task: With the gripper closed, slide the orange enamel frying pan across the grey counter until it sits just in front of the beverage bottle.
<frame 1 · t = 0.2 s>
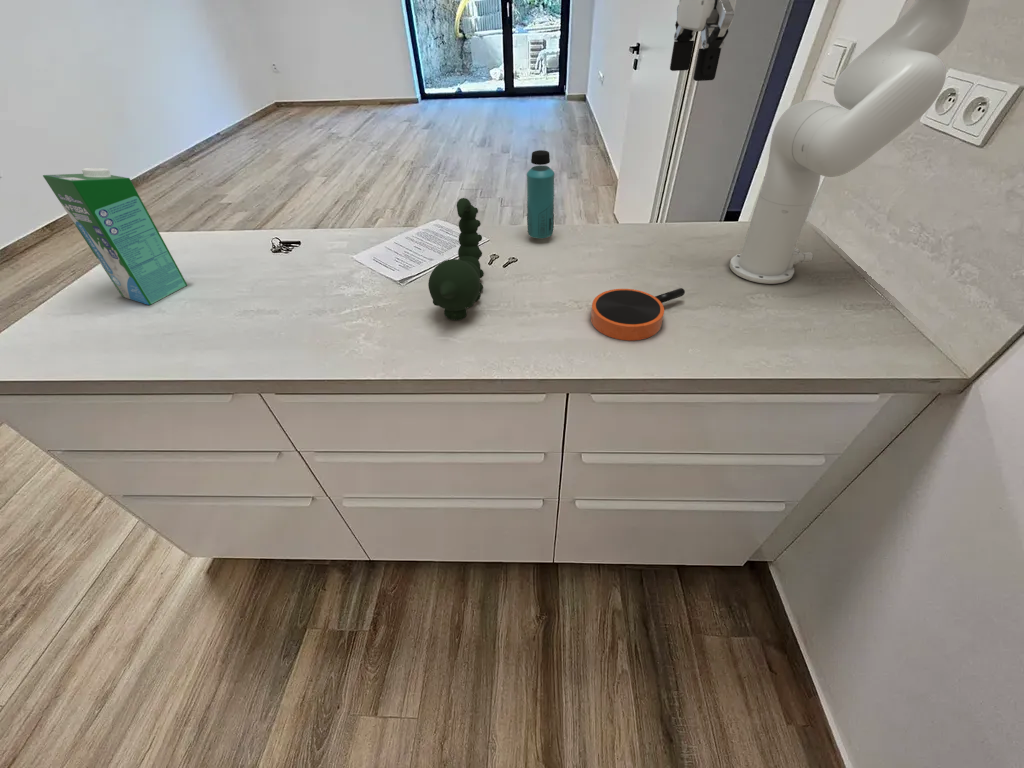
hand: (690, 75, 76), 37 cm above the worktop, tool pointing down, fingers open, 9 cm apart
beverage bottle: (540, 239, 117), on the worktop
milk carton: (156, 291, 102), on the worktop
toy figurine: (463, 301, 96), on the worktop
pan: (625, 320, 89), on the worktop
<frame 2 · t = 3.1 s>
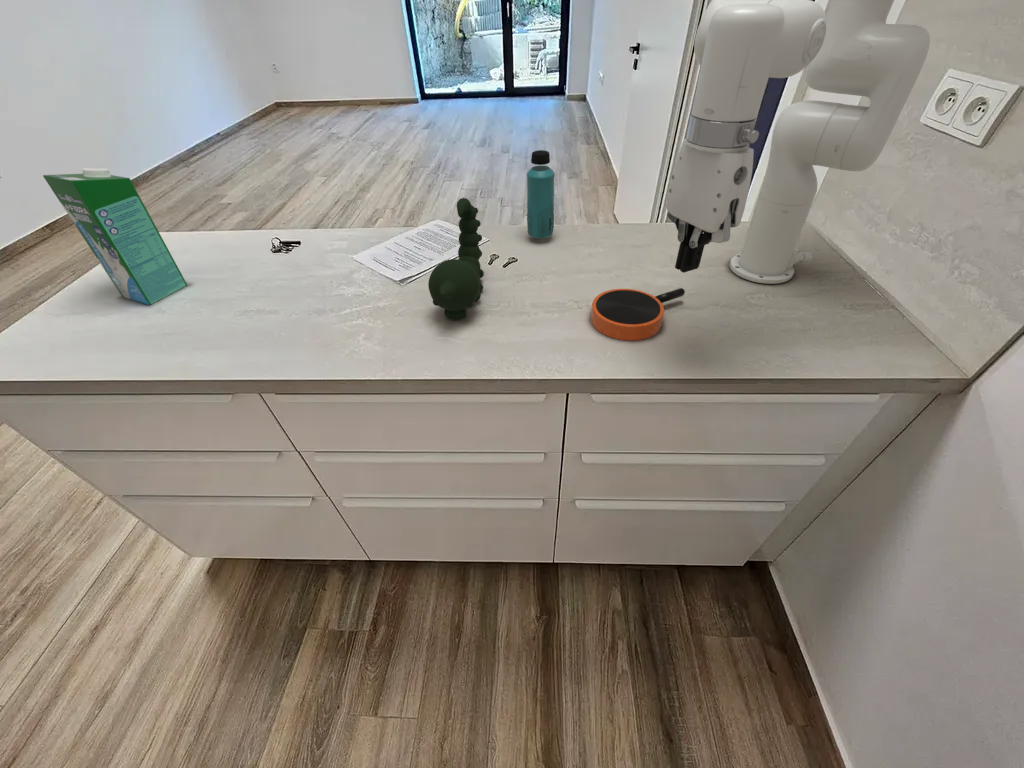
hand: (686, 268, 70), 16 cm above the worktop, tool pointing down, fingers closed
nothing on the worktop moved.
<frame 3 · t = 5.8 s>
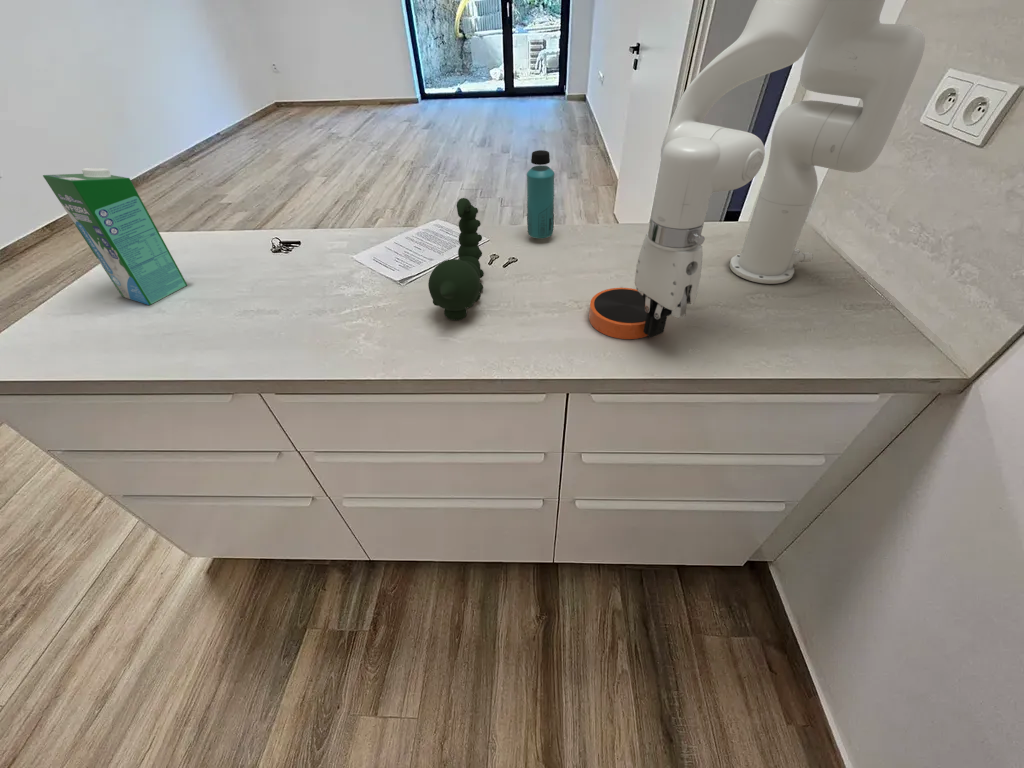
hand: (653, 332, 82), 2 cm above the worktop, tool pointing down, fingers closed
pan: (623, 319, 89), on the worktop, touching gripper
everything else where it was.
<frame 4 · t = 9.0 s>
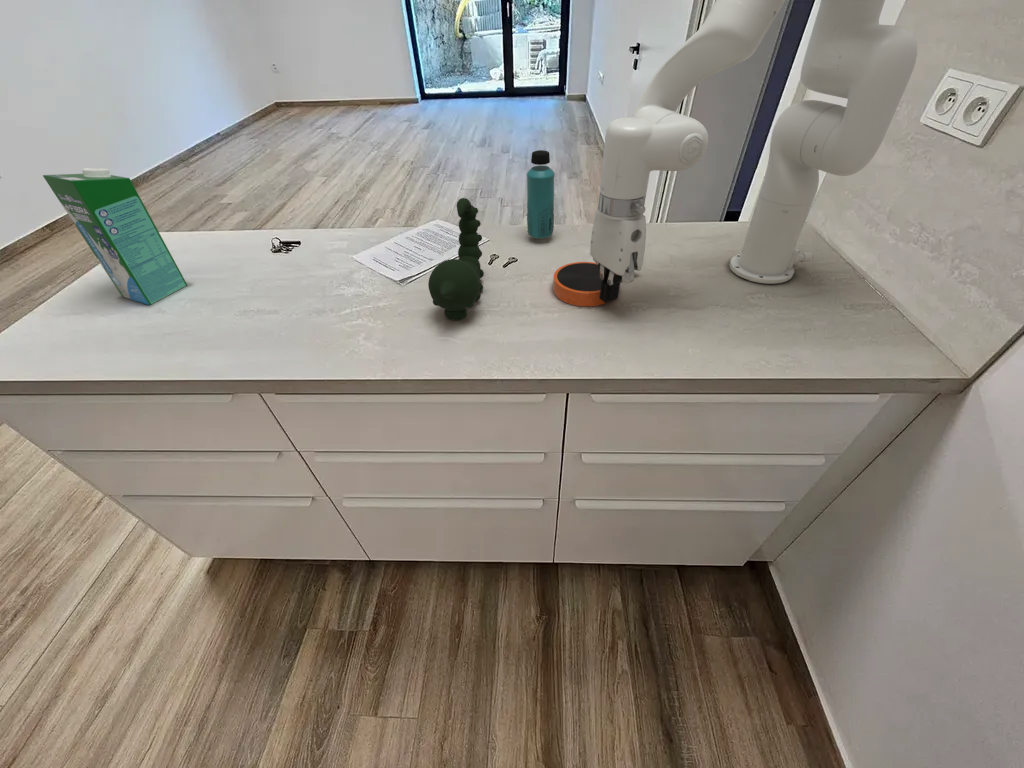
hand: (608, 299, 91), 2 cm above the worktop, tool pointing down, fingers closed
pan: (584, 289, 98), on the worktop, touching gripper
everything else where it was.
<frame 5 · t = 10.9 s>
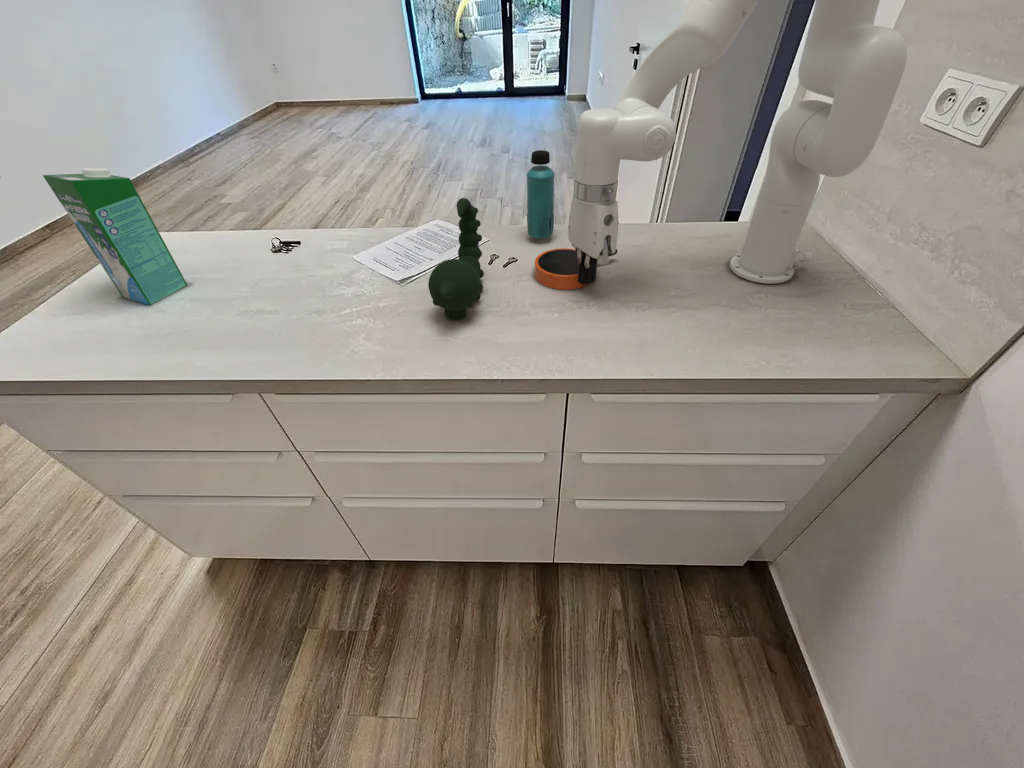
hand: (586, 281, 96), 2 cm above the worktop, tool pointing down, fingers closed
pan: (564, 274, 103), on the worktop, touching gripper
everything else where it was.
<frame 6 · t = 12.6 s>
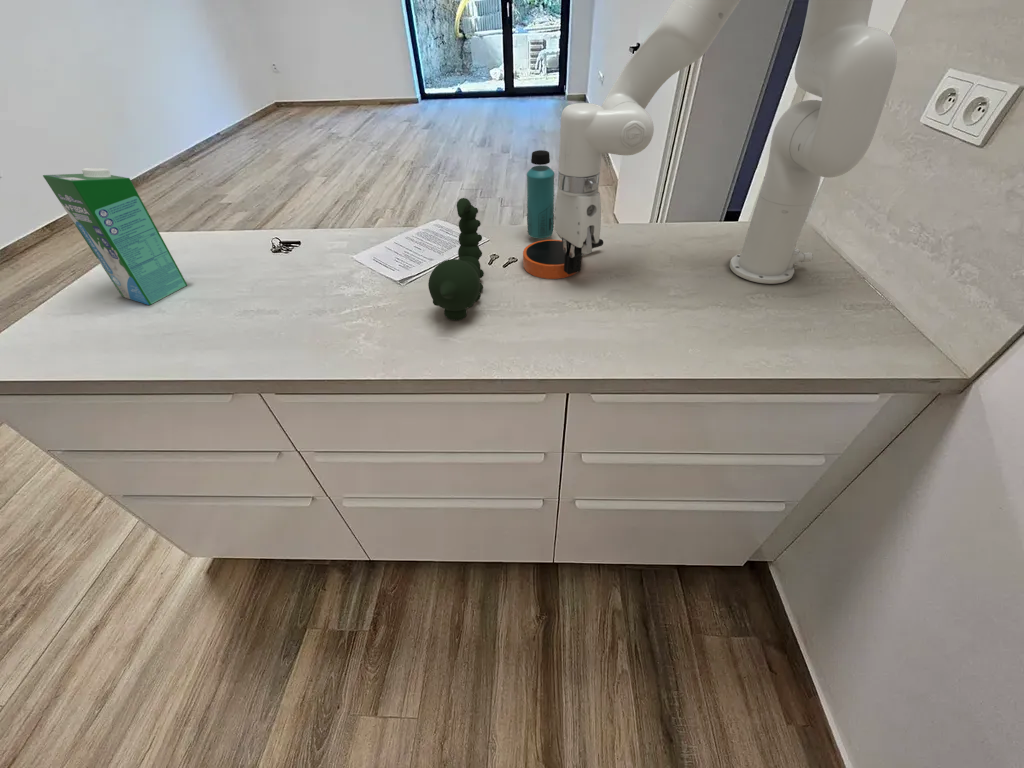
hand: (572, 271, 99), 2 cm above the worktop, tool pointing down, fingers closed
pan: (552, 264, 106), on the worktop, touching gripper
everything else where it was.
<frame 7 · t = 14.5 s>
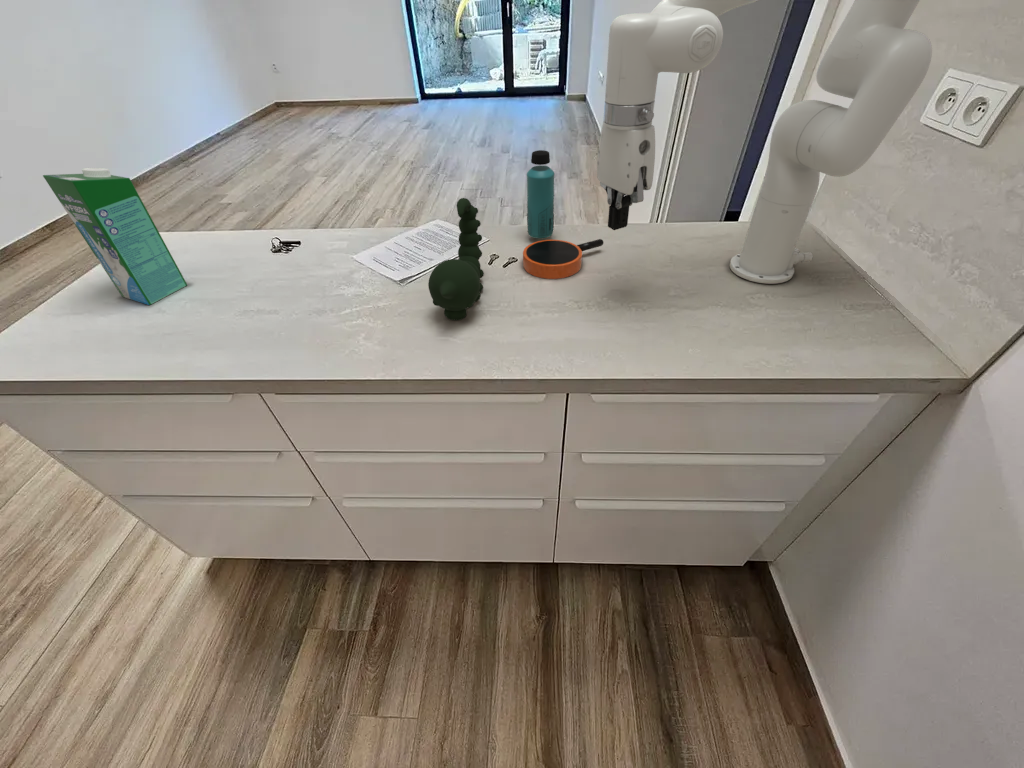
hand: (617, 226, 86), 14 cm above the worktop, tool pointing down, fingers closed
pan: (552, 264, 106), on the worktop
everything else where it was.
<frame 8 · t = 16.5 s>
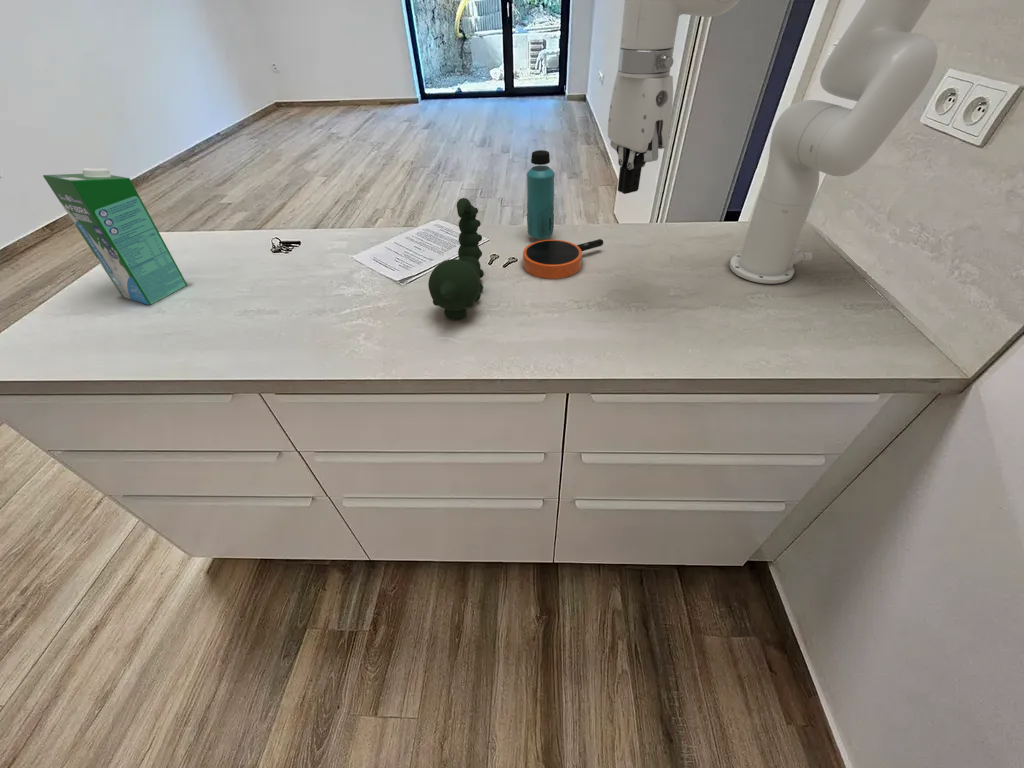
hand: (627, 190, 81), 21 cm above the worktop, tool pointing down, fingers closed
nothing on the worktop moved.
at the end: pan inside the target area on the worktop beside the beverage bottle (0.3 cm from its centre), on the worktop; pan tilted 0°; beverage bottle moved 0.2 cm from its start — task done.
